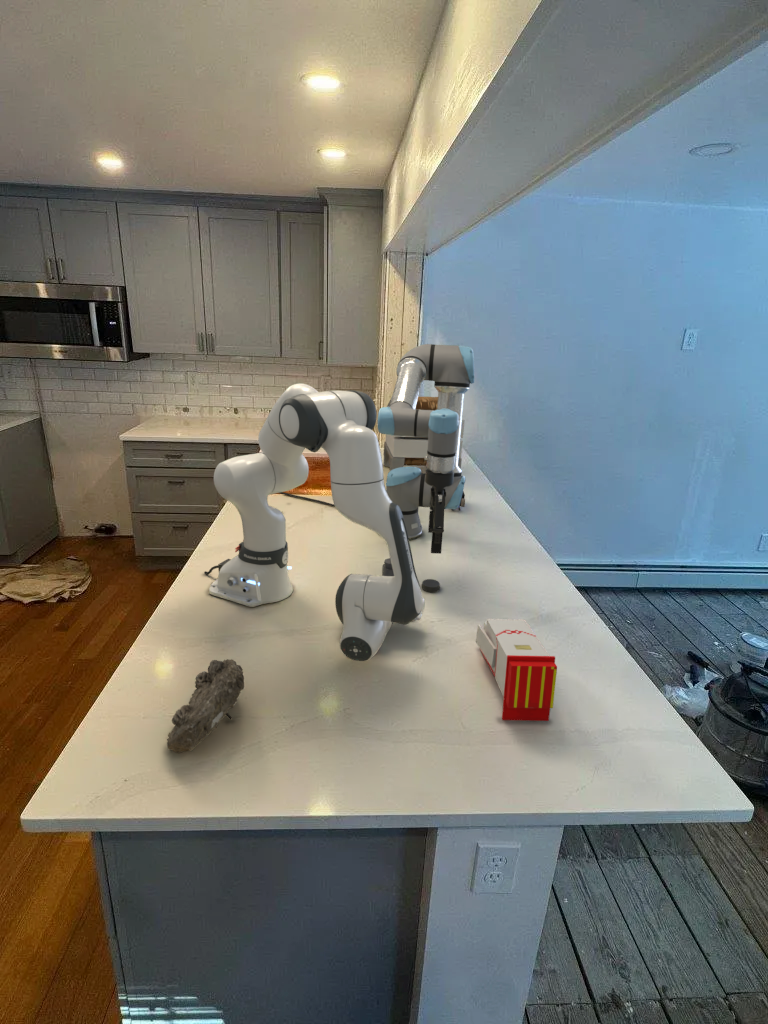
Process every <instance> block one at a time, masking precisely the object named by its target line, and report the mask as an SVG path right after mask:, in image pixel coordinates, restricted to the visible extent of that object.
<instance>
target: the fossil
mask: <svg viewBox="0 0 768 1024" xmlns="http://www.w3.org/2000/svg"><path fill="white" fill-rule="evenodd" d="M243 670H244V669H243V667H242V665H240V664H237V662H236V661H235V660H234V659H232V658H231V659H227V658H226V659H224V660H223V661H222V660H217V659H212V660H211V661H210V663H209V665H208V666H207V671H201V672H199V673H198V674H197V675H196V676H195V680H194V684H195V685H194V687H195V689H194V690H193V693H192V694H191V697H190V698H189V700H188V704H184V705H182V706H181V707H180V709H177V710H176V711H175V713H174V715H173V716H172V718H171V723H172V724H173V727H172V730H171V731H170V732H168V734H167V738H166V741H167V742H166V745H167V749H168V750H169V751H173V752H174V753H176V754H178V753H182V752H188V751H189V752H192V751H193V750H195V748H196V747H197V746H199V744H200V743H201V742H203V741H204V740H205V739H206V738H207V737H208V736H209V735H210V734H211V733H212V732H214V730H215V729H217V727H218V726H219V724H220V722H221V721H222V720H223V719H224V718H225V716H226V717H227V719H229V720H233V717H232V715H230V714H229V710H230V709H231V708H234V706H235V704H236V703H237V702H238V699H239V697H240V695H241V693H242V691H243V690H245V689H244V688H245V675H244V671H243Z"/></svg>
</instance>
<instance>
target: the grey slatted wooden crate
mask: <svg viewBox="0 0 768 1024" xmlns="http://www.w3.org/2000/svg"><path fill="white" fill-rule="evenodd" d="M390 402H391V399H390V400H389V402H388V404H387V405H386V407H389V405H390ZM437 403H438V396H418V399H417V404H416V409H419V410H434V411H435V410H437ZM464 429H465V419H464V418H462V425H461V436H460V447H459V458H458V467H459V468H460V469H461V470H462V461H463V460H462V453H463V442H464V441H463V440H462V439H463V438H464V431H465V430H464ZM427 450H428V438H425V437H415V436H397V435H393V436H391V435H387V434H385V438H384V442H383V462H382V463H383V467H388V468H389V472H390V471H391V470H393V469H396V468H400V467H405V466H406V467H417V466H418V467H426V463H427V460H425V459H424V457H428V456H427Z"/></svg>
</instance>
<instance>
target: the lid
mask: <svg viewBox="0 0 768 1024" xmlns="http://www.w3.org/2000/svg"><path fill="white" fill-rule="evenodd" d="M440 588H441V583H440V581H438V580H436V579H432V578H428V579H423V580H422V582H421V590H422V591H425V592H427V593H437V592H439V591H440Z"/></svg>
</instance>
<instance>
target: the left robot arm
mask: <svg viewBox="0 0 768 1024" xmlns="http://www.w3.org/2000/svg"><path fill="white" fill-rule="evenodd" d="M377 415H378V414H377V408H376V405H375V403H374V400H373V399H372V397H371V396H370V395H368V394H367V393H365V392H364V391H359V390H354V389H349V390H337V389H336V390H324V391H318V390H317V389H316V388H314V387H313V386H311V385H309V384H308V383H307V384H306V383H294V384H292V385H290V386H288V387H287V388H286V389H285V390H284V392H283V393H281V395H280V396H279V397H278V398H277V400H276V402H275V403H274V404H273V406H272V407H271V409H270V411H269V413H268V415H267V417H266V419H265V421H264V423H263V424H262V427H261V428H260V430H259V433H258V437H257V438H258V446H259V448H260V451H259V452H257V453H249V454H244V455H238V456H233V457H231V458H228V459H226V460H223V461H221V462H219V463H218V464H217V465H216V467H215V469H214V472H213V485H214V487H215V490H216V492H217V493H218V494H219V496H220V497H221V498H222V499H224V500H226V501H227V502H229V503H231V504H232V505H233V506H234V507H235V508H236V510H237V511H238V513H239V516H240V519H241V524H242V534H243V539H242V541H241V542H240V543H239V544H238V546H236V547H235V548H234V550H235V551H234V553H237V552H238V554H236V555H235V556H234V557H231V558H227V559H225V560H223V561H221V562H219V563H218V565H214V566H212V567H211V568H210V569H209V570H208V571H206V570H205V571H203V573H204V575H211V573H212V572H213V570H216V569H218V574H217V578H216V579H215V580H214V581H213V582H212V583H211V584H210V586H209V588H208V589H209V591H208V592H209V595H212V596H215V597H218V598H221V599H224V600H227V601H229V602H233V603H237V604H239V605H243V606H245V607H250V608H254V607H258V606H261V605H264V604H265V605H266V604H272V603H277V602H280V601H283V600H285V599H287V598H288V597H289V596H291V595H292V594H293V591H294V587H293V584H292V581H291V577H290V574H289V570H292V568H293V567H292V566H288V563H289V546H288V545H289V544H288V541H287V523H286V521H287V520H286V516H285V515H284V513H283V511H281V510H280V509H278V508H277V507H274V506H271V505H269V501H268V497H269V496H270V495H274V494H280V492H284V493H285V492H289V491H292V490H293V489H296V488H298V487H300V486H302V485H304V484H305V483H306V481H307V480H308V477H309V474H310V470H309V469H310V467H309V463H308V460H307V458H306V457H305V455H304V454H303V453H304V451H305V449H306V450H307V451H310V452H312V453H317V452H318V451H320V450H321V449H323V450H324V452H325V453H326V454H327V456H328V458H329V467H330V469H329V471H330V472H329V475H330V492H331V497H332V502H333V503H332V504H334V505H335V507H334V508H335V509H336V511H338V513H340V515H341V516H342V517H343V518H345V519H346V520H348V521H350V522H352V523H353V524H357V525H359V526H361V527H364V528H366V529H368V530H370V531H372V532H373V533H375V534H377V535H379V536H380V537H381V538H382V539H383V540H384V542H385V543H386V545H387V550H388V554H389V558H390V559H391V563H392V568H393V573H394V576H382V575H376V574H375V575H374V574H365V573H349V574H348V575H347V576H346V577H344V579H343V580H342V581H341V583H340V584H339V585H338V588H337V590H336V593H335V599H334V600H335V602H334V603H335V611H336V614H337V616H338V619H339V622H341V624H342V632H341V636H340V640H339V648H340V651H341V652H342V654H343V655H344V656H345V657H346V658H348V659H349V660H351V661H356V662H366V661H368V660H371V659H372V658H373V657H374V656H375V655H376V654H377V652H378V651H379V650H380V648H381V647H382V645H383V644H384V641H385V639H386V636H387V634H388V632H389V631H390V630H391V627H392V626H393V623H395V624H401V625H407V624H409V623H414V622H416V621H420V620H421V619H422V616H423V613H424V612H425V606H426V605H425V604H426V599H425V598H424V597H423V593H422V588H421V585H420V581H419V578H418V575H417V572H416V568H415V564H414V558H413V554H412V549H411V544H410V540H409V539H408V534H407V530H406V525H405V522H404V518H403V514H402V512H401V509H400V507H399V506H398V505H396V504H395V503H393V502H392V501H391V499H390V498H389V496H388V494H387V492H386V484H385V479H384V478H385V476H384V464H383V463H384V462H383V458H382V451H381V447H380V442H379V438H378V436H377V433H376V432H375V431H374V429H375V426H376V423H377V419H378V416H377Z"/></svg>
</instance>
